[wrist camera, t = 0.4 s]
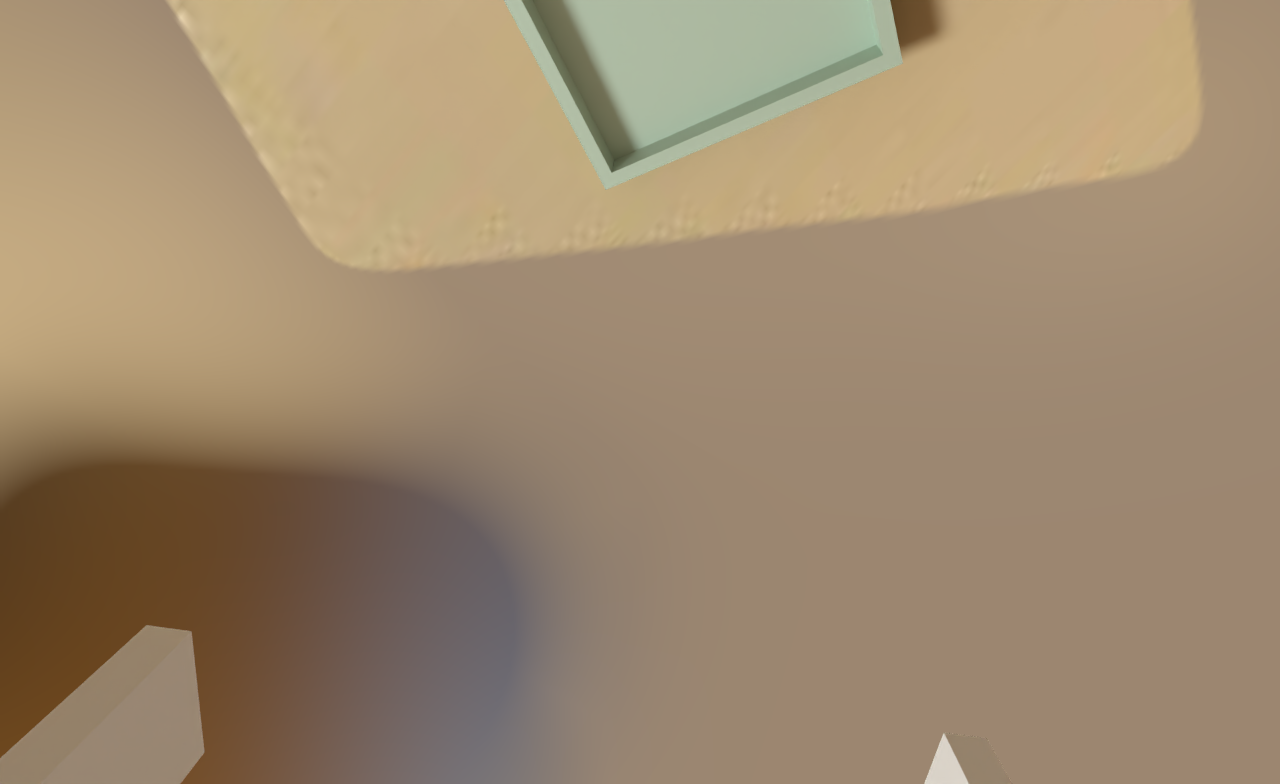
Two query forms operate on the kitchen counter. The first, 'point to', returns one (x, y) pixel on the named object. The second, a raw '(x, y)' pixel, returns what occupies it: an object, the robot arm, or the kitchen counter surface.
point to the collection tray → (695, 67)
